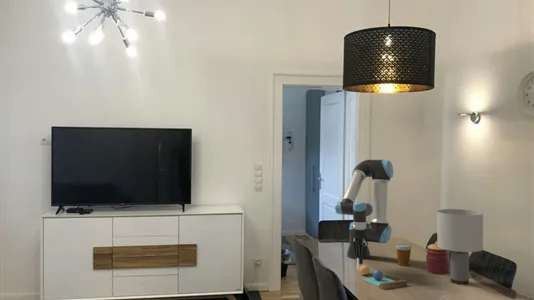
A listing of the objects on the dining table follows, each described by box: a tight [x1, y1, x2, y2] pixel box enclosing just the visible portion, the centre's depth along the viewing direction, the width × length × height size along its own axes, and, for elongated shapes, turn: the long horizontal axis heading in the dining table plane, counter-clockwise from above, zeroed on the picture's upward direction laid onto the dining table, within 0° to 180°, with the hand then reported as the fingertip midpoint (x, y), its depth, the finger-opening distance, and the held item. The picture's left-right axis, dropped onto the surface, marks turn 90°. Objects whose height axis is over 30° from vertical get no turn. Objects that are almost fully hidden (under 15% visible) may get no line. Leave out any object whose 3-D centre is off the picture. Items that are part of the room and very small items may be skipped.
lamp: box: [436, 208, 484, 286], centre depth 247 cm, size 23×23×38 cm
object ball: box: [372, 269, 384, 280], centre depth 251 cm, size 6×6×6 cm
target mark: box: [362, 275, 395, 287], centre depth 249 cm, size 14×14×1 cm
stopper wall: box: [379, 279, 408, 290], centre depth 239 cm, size 2×16×2 cm, turn 114°
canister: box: [425, 241, 450, 275], centre depth 268 cm, size 13×13×18 cm
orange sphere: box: [358, 264, 370, 276], centre depth 261 cm, size 6×6×6 cm
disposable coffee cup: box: [395, 243, 412, 267], centre depth 283 cm, size 10×10×12 cm
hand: (359, 269), depth 266 cm, fingers closed
